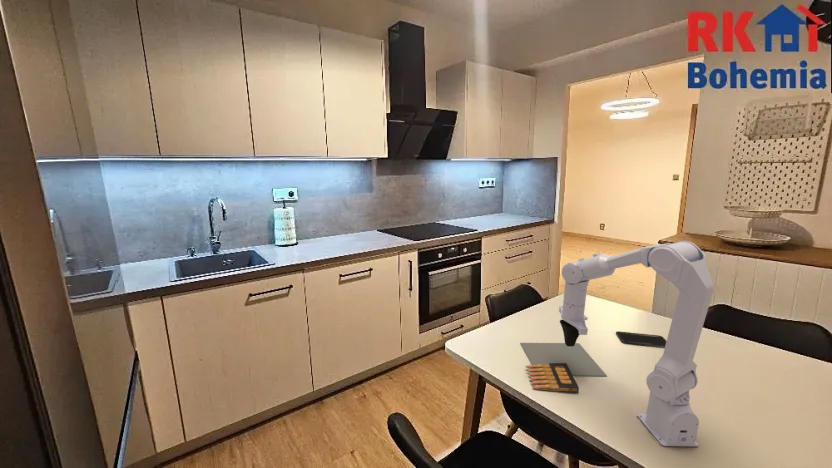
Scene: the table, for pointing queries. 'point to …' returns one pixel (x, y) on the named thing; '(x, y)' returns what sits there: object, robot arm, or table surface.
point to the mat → (563, 357)
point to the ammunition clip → (553, 377)
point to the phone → (641, 339)
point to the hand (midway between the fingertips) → (569, 345)
